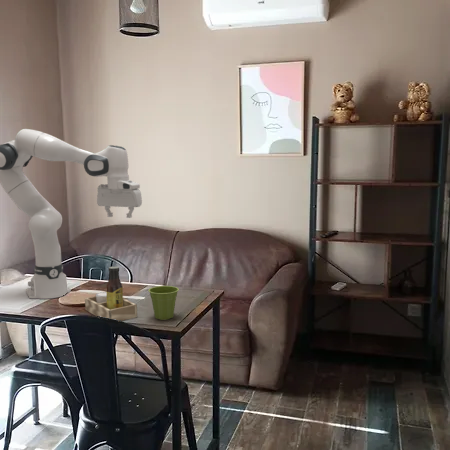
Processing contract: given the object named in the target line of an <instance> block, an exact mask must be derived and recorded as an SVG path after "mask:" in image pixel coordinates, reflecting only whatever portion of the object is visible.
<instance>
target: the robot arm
mask: <svg viewBox="0 0 450 450" xmlns="http://www.w3.org/2000/svg"><path fill="white" fill-rule="evenodd" d="M33 157H35V158H36V159H40V160H44V161H48V162H49V161H50V162H71V163H72V162H73V163H77V164H81V165H82V166H83V168H84V171H85V173H87V174H88V175H89V176H90V177H94V178H97V177H107V179H106V180H107V184H100V185H98V187H97V195H96V196H97V197H96V204H97V206H98V207H104V210H105V212H106V213H107V217H108V218H112V217H113V215H114V214H113V213H114V212H112V211H111V207H115V208H116V207H118V208H119V207H122V208H128V210H129V211H128V213H126V218H127V219H131V218H132V217H133V212H134V210H135V208H140V207H141V206H142V203H143V200H142V192H141V190H140V188H141V184H140V183H139V182H136V181H134V180H130V176H129V172H128V170H129V158H128V157H129V156H128V152H127V149H126V148H125V147H124V146H119V145H112V144H110V145H107V147H105V148H104V149H103V150H100V151H98V152H92V151H89V150H85V149H82V148H80V147H77V146H74V145H72V144H70V143H68V142H66V141H64V140H62V139H60V138H57V137H56V136H53V135H51V134H49V133H45V132H44V131H39V130H37V129H32V128H30V129H29V128H23V129H21V130H19V131H18V132H17V134H16V135H15V139H12V140H9V141H6V142H4V143H1V144H0V185H1V187H2V189H3V190H4V191H5V193H6V194H7V196H9V198H10V199H11V200H12V201H13V203H14V204H15V205H16V207H17V208H18V209H19V210H20V211H22V212H23V213H24V214H26V215H27V216H28V217H29V218H30V219H29V221H28V230H29V231H30V233H31V234H30V235H31V239H32V242H33V246H34V247H33V249H34V256H35V257H34V258H35V265H34V275H32V277H31V278H30V281H27V287H28V288H26V289H25V292H26V294H27V296H29V297H28V298H29V299H40V300H41V299H42V300H43V299H44V300H45V299H48V300H49V299H56V298H60V297H63V295H64V296H66V295H67V294H68V293H71V288H70V287H68V280H67V275H66V274H65V273H64V272H63V271H64V266H63V263H62V249H61V244H60V241H59V237H58V230H59V229H60V228H61V227H62V223H63V216H62V214H61V213H60V211H58V210H57V209H56V208H55V207H54V206H53V205H52V204H51V203H50V202H49V201H48V200H47V199H46V197H44V196H43V195H42V194H41V193H40V192H39V191H38V190H37V188H36V187H35V185H34V184H33V183H32V181H31V180H30V179H29V177H28V176H26V174H25V172H24V171H23V168H24V167H27V166H28V165H29V163H30V161H31V160H32V159H33ZM67 292H68V293H67ZM66 293H67V294H66ZM65 294H66V295H65Z"/></svg>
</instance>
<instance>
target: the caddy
mask: <svg viewBox="0 0 450 450" xmlns="http://www.w3.org/2000/svg"><path fill="white" fill-rule="evenodd" d="M84 305H85V307H84V308H85V309H84V310H85V311H87V312H88V313H90V314H92V315H94V316H95V317H97V316H101V317H106V318H110V319H116V320H121V321H120V322H122V321H127V320H130V319H135V318H138V304H136V303H134V302H132V301H130V300H128V299H126V298H124V297H123V307H120V308H116V309H111V310H110V309H108V308H107V302H103V303H97V300H96V295H95V296H89V297H85V298H84Z"/></svg>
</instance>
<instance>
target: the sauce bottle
mask: <svg viewBox="0 0 450 450" xmlns="http://www.w3.org/2000/svg"><path fill="white" fill-rule="evenodd" d="M108 273H109V274H108V275H109V277H108V278H109V279H108V281H107V283H106V291H105V292H107V308H108V309H110V310H111V309H116V308H120V307H123V298H124V293H123V292H124V289H123V285H122V284H123V283H122V281H121V280H120V266H109V267H108Z"/></svg>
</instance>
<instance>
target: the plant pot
mask: <svg viewBox="0 0 450 450" xmlns="http://www.w3.org/2000/svg"><path fill="white" fill-rule="evenodd" d="M147 291H148V292H149V296H150V299H151V304H152V310H153V315H154V318H155V319H156V320H161V321H164V320H165V321H166V320H167V321H168V320H170V319H173V318H174V315H175V308H176V300H177V297H178V292H179V291H180V288H178V287H177V286H171V285H158V286H154V287H151V288H149V289H148V290H147Z"/></svg>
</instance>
